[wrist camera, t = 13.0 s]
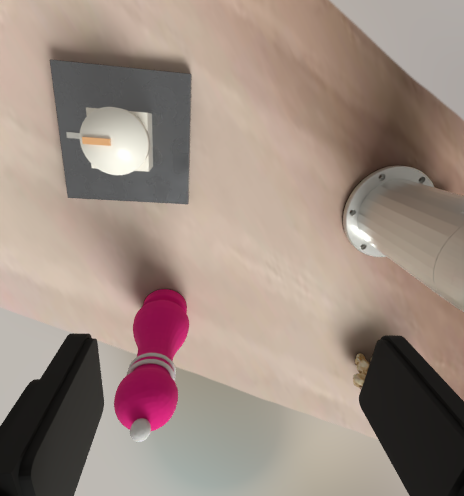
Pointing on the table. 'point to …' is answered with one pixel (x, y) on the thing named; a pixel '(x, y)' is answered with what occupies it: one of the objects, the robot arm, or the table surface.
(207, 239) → the table surface
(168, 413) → the pepper mill
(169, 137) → the grey thin square slab
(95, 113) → the knob
